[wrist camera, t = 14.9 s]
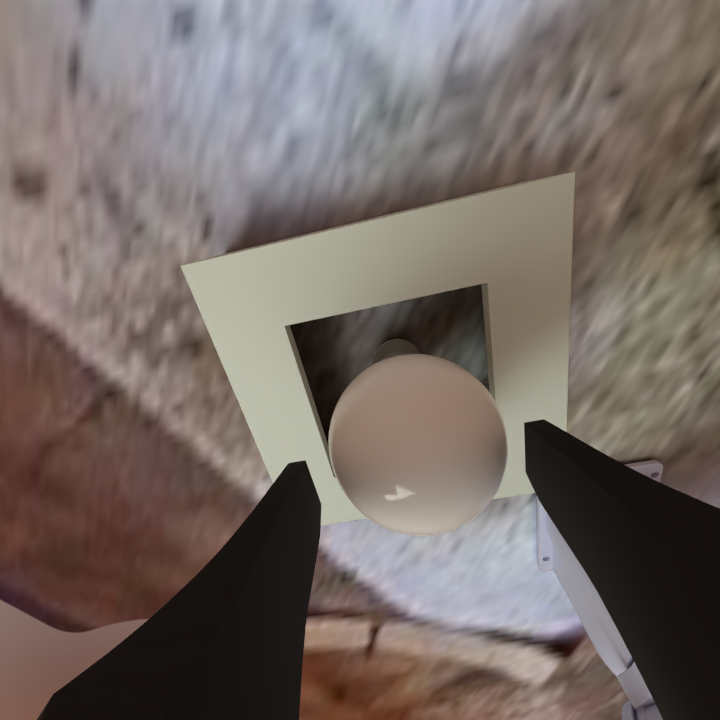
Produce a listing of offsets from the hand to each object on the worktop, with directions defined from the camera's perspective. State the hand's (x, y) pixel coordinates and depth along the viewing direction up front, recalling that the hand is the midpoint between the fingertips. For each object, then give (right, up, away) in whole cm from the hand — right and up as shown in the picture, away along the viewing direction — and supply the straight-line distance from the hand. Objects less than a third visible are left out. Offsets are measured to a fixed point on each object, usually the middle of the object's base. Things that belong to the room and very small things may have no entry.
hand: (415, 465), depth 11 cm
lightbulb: (0, +4, +9) cm, 10 cm away
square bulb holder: (0, +4, +9) cm, 9 cm away
